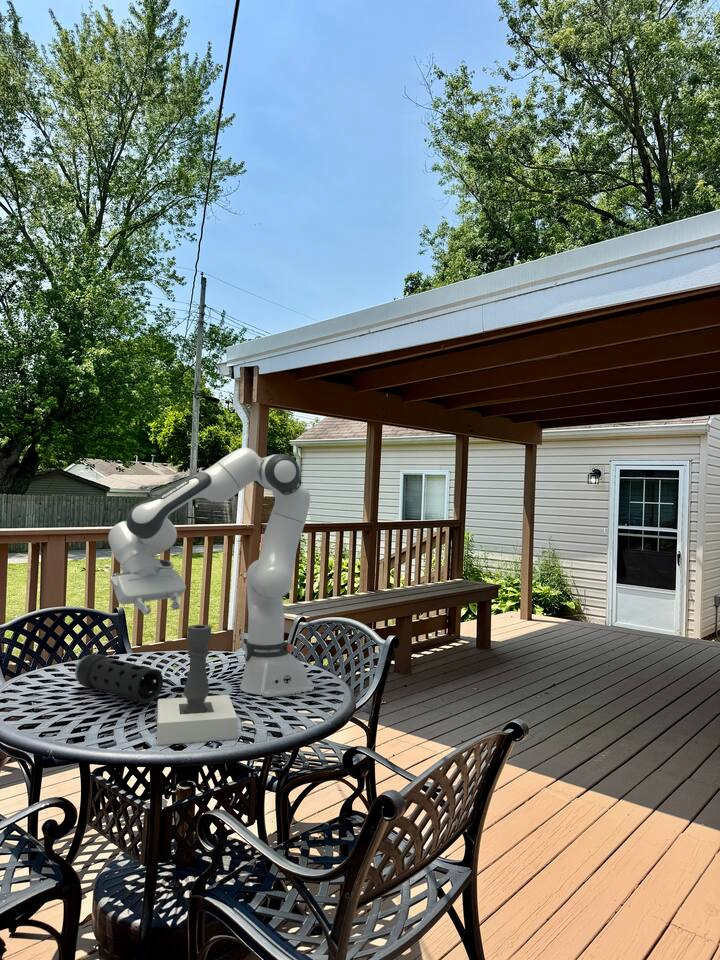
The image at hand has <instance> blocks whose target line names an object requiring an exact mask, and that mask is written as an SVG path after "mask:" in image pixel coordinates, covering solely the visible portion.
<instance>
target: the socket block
mask: <svg viewBox="0 0 720 960" xmlns="http://www.w3.org/2000/svg"><path fill="white" fill-rule="evenodd" d="M187 704H188V702H187V698H186V697H185V696H184V697H174V698H173V697H172V698H170V697H168V698H157V712H156V746H163V745H164V746H165V745H174V744H175V745H176V744H188V743H191V744H192V743H203V742H212V741H213V742H214V741H225V740H226V741H227V740H228V741H229V740H237V731H238V730H237V729H238V728H237V727H238V716H237V714H236V711H235V709H234V705H233V703H232V700H231V697H230V695H229V694H222V695H207V697H206V698H205V702H204V704H205V705H206V707H207V711H206V712H207V713H194V714H184V713H185V712H184V708H185V707H186V705H187Z"/></svg>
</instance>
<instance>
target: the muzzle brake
mask: <svg viewBox="0 0 720 960" xmlns="http://www.w3.org/2000/svg"><path fill="white" fill-rule="evenodd" d="M74 676H75V679H76V680H77V681H78V683H79V684H80V685H81V686H82V687H85V688H89V689H91V690H97V693H99V692H100V693H99V694H102V693H104V694H103V695H107V694H106V693H108V694H112V695H115V696H117V698H118V699H124V700H125V701H128V700H129V701H128V702H131V701H132V702H131V703H134V702H137V703H136V704H138V703H141V704H144V705H148V706H150V705H151V703H152V702H154V701H155V700H156V699H158V697H159V696H160V694H161V692H162V691H163V686H164V678H163V675H162V673H161V672H160V671H159V670H158V669H154V668H151V667H146V666H143V665H139V664H135V663H130V662H127V661H122V660H119V659H114V658H109V656H106V655H103V654H99V653H92V654H88V655H85V656H83V657H82V658H81V659H80V660H79V661H78V662H77V664H76V666H75V669H74ZM141 704H140V705H141ZM149 704H150V705H149ZM144 705H143V706H144Z"/></svg>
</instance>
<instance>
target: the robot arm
mask: <svg viewBox="0 0 720 960" xmlns="http://www.w3.org/2000/svg"><path fill="white" fill-rule="evenodd" d="M253 482H254V483H255V484H257V485H258V487H261V488H262V489H265V490H267V491H273V494H274V497H275V498H274V499H275V500H274V504H273V508H272V509H271V513H270V515H269V518H268V521H267V524H266V527H265V531H264V533H263V537H262V546H261V551H260V555H259V559H256V560H255V561H253V562H252V563H251V564H250V565H249V567H248V568H247V571H246V595H247V596H246V597H247V598H246V599H247V609H248V610H247V611H248V614H247V615H248V621H247V640H246V641H245V646H244V660H245V665H244V671H243V674H242V675H243V676H242V679H241V682H240V685H239V690H241V691H243V692H244V693H247V694H252V695H259V696H261V695H262V696H261V697H266V698H272V697H279V696H287V695H294V694H295V693H296V694H302V693H301V692H304V693H307V692H306V691H311V692H313V691H314V690H315V685H314V683H313V681H312V680H311V679H309V678H308V675H307V670H306V666H304V664H303V663H302V662H301V661H299V660H298V659H297V658H296V657H295V656H293V655H292V654H291V653H292V652H293V651H294V646H293V644H291V643H289V642H287V641H285V640H284V636H285V619H286V618H285V611H284V604H283V597H284V596H286V595H287V594H288V593H289V591H290V590H291V587H292V583H293V574H294V568H295V563H296V557H297V551H298V547H299V542H300V540H301V536H302V534H303V531H304V527H305V523H306V522H307V519H308V514H309V513H308V512H309V509H310V504H311V503H310V502H311V494H310V491H309V490H308V489H307V488H306V487H305V486H303V485H302V480H301V471H300V467H299V463H298V462H297V461H296V459H295V458H293V457H292V456H290V455H288V454H284V453H279V454H271V455H269V456H265V457H260V456H259V455H258V453H257V452H256V451H254V450H253V449H252V448H249V447H247V446H246V447H245V446H244V447H240V448H237V449H236V450H234V451H232V452H230V453H228V454H227V455H225V456H224V457H222V458H221V459H220V460H218V461H216V463H214V464H213V465H211V466H209V467H208V468H206V469H204V470H202V471H198V472H194V473H192V474H190V475H188V476H186V477H185V478H184V479H182V480H180V481H179V482H176V483H175V484H174V485H172V486H171V487H168V488H167V489H165V490H164V491H162V492H161V493H159V494H157V495H155V496H153V497H151V498H149V499H146V500H142V501H140V502H138V503H136V504H135V505H134V506H133V507H131V509H130V510H129V512H128V514H127V516H126V520H122V521H120V522H118V523H116V524H115V525H114V526H113V527H112V528H111V529H110V531H109V533H108V536H107V537H108V538H107V540H108V544H109V546H110V549H111V552H112V555H113V556H114V558H115V560H116V562H118V563H119V565H120V568H121V569H120V570H121V571H122V572H119V573H118V572H116V573H113V575H111V576H110V579H109V580H110V584H112V586H113V591H114V593H115V596H116V599H117V601H118V603H119V604H121V605H123V606H124V605H130V604H131V605H132V604H133V605H134V607H136V608H137V609H139V610H140V611H141V613H142V614H143V615H145V616H146V615H149V614H151V612H152V608H151V606H150V605H149V604H148V605H146V603H144V602H151V601H158V600H159V601H160V600H165V599H166V600H167V599H170V601H172V603H171V604H170V607H171V609H172V610H173V611H174V610H176V611H177V610H179V609H180V608H181V604H180V602H179V598H180V597H181V596H182V595H183V594H184V592H186V589H187V586H186V583H185V582H184V580H183V578H182V576H181V575H180V574H179V572H178V571H177V570H175V569H173V568H174V564H173V562H172V561H170V560H166V559H165V560H164V559H162V558H161V559H160V558H157V557H155V556H157V555H159V554H161V553H164V552H166V551H168V550H169V549H171V548H173V546H174V544H175V543H176V541H177V539H178V531H177V528H176V527H175V526H174V524H173V523H172V521H171V520H170V519H169V516H170V514H172V513H174V512H175V511H176V510H179V509H180V508H181V507H183V506H184V505H186V504H187V503H189V502H191V501H192V500H195V499H206V500H207V501H210V502H214V503H224V502H226V501H228V500H230V499H232V498H233V497H235V496H236V495H237V494H238V493H240V491H242V490H243V489H244V488H246V486H247V485H249V484H251V483H253ZM313 689H314V690H313ZM312 690H313V691H312ZM296 694H295V695H296Z"/></svg>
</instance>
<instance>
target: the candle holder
mask: <svg viewBox="0 0 720 960" xmlns="http://www.w3.org/2000/svg"><path fill="white" fill-rule="evenodd" d="M211 639H212V626H211V625H207V624H194V625H189V626H188V627H187V638H186V640H187V641H188V645H189V648H190V649H189V650H188V651H187V655H188V657H189V671H188V674H187V677H186V681H185V685H184V688H183V694H184V698H185V697H186V698H187V702H188V704H187V705H186V707H185V708H184V712H185V713H184V714H194V713H207V712H206V711H207V707H206V705H205V704H204V702H205V698H206V697H207V696H209V692H210V685H209V681H208V675H207V674H208V673H207V669H206V665H207V656H208V655H209V654H210V650H208V649H207V648H208V645H209V644H210V641H211Z"/></svg>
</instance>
